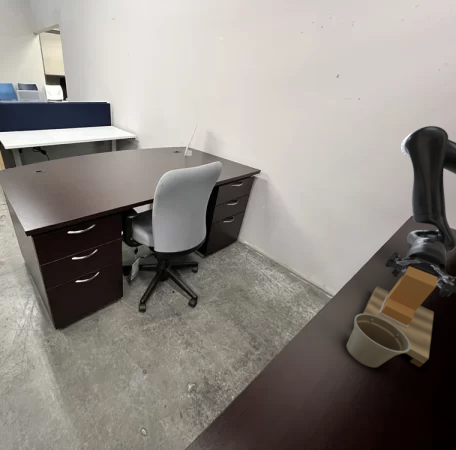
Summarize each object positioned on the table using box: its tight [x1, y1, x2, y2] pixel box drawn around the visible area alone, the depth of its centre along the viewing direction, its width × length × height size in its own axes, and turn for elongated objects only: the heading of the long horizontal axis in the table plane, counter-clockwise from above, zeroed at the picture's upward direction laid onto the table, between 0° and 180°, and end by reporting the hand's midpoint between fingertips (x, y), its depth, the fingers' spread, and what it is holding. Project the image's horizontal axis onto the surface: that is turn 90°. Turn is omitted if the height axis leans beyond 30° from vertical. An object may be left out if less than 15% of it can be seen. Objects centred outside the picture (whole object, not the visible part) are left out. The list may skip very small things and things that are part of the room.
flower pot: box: [346, 313, 411, 368], centre depth 53 cm, size 9×9×9 cm
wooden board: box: [362, 286, 435, 368], centre depth 62 cm, size 20×12×4 cm, turn 131°
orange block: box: [379, 266, 438, 329], centre depth 60 cm, size 10×5×11 cm, turn 130°
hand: (419, 283), depth 58 cm, fingers open, 8 cm apart
